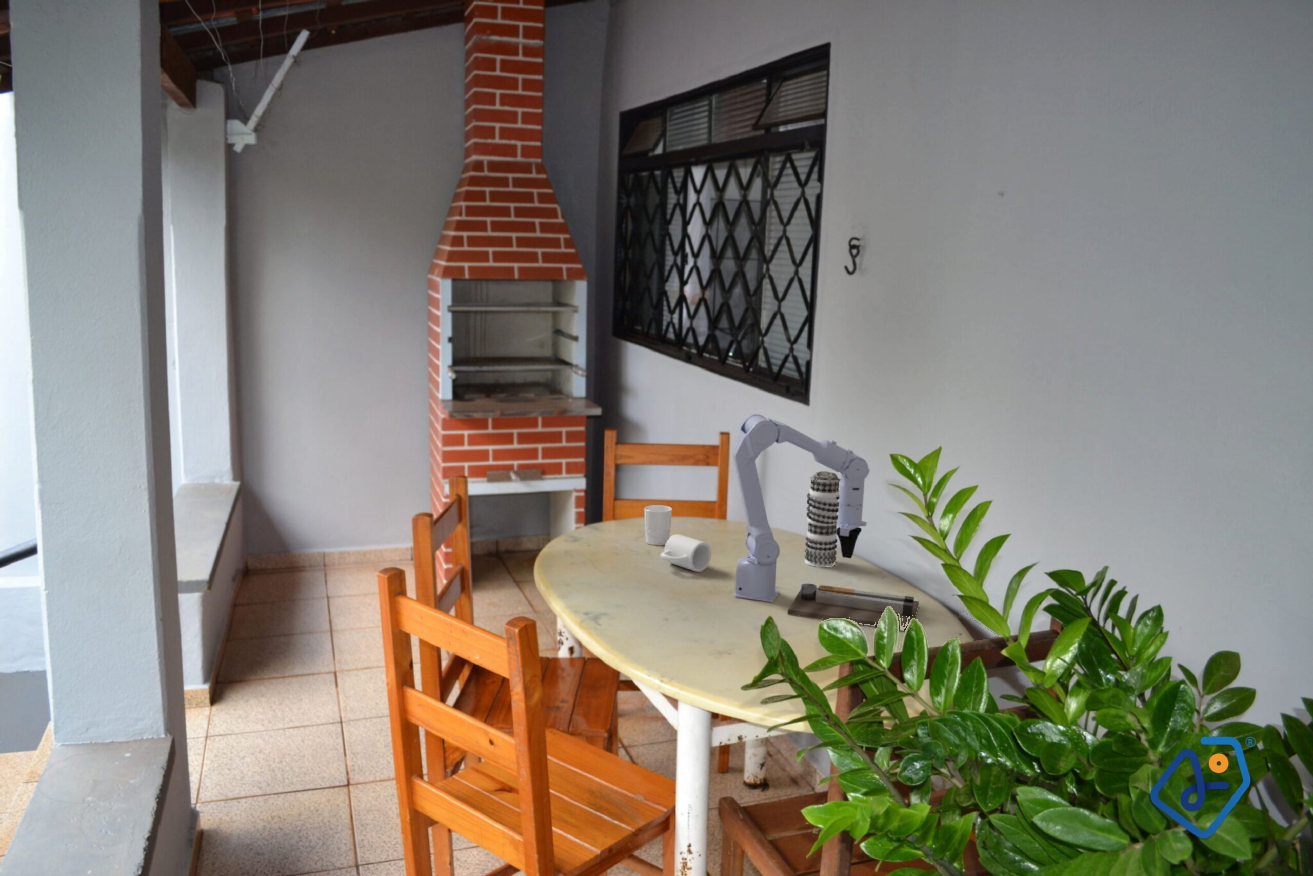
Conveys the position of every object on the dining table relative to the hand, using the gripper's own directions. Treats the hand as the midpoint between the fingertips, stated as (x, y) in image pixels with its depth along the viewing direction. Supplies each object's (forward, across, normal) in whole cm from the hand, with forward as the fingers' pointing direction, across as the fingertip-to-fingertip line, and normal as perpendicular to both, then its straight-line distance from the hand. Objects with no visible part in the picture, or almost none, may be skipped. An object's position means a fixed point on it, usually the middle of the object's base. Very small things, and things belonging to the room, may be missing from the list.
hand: (847, 557), depth 240 cm
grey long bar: (+8, -12, -6) cm, 16 cm away
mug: (+10, +1, +43) cm, 44 cm away
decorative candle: (+10, +22, +10) cm, 26 cm away
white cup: (+10, +21, +57) cm, 62 cm away
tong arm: (+8, -10, -4) cm, 14 cm away
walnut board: (+9, -11, -4) cm, 15 cm away
